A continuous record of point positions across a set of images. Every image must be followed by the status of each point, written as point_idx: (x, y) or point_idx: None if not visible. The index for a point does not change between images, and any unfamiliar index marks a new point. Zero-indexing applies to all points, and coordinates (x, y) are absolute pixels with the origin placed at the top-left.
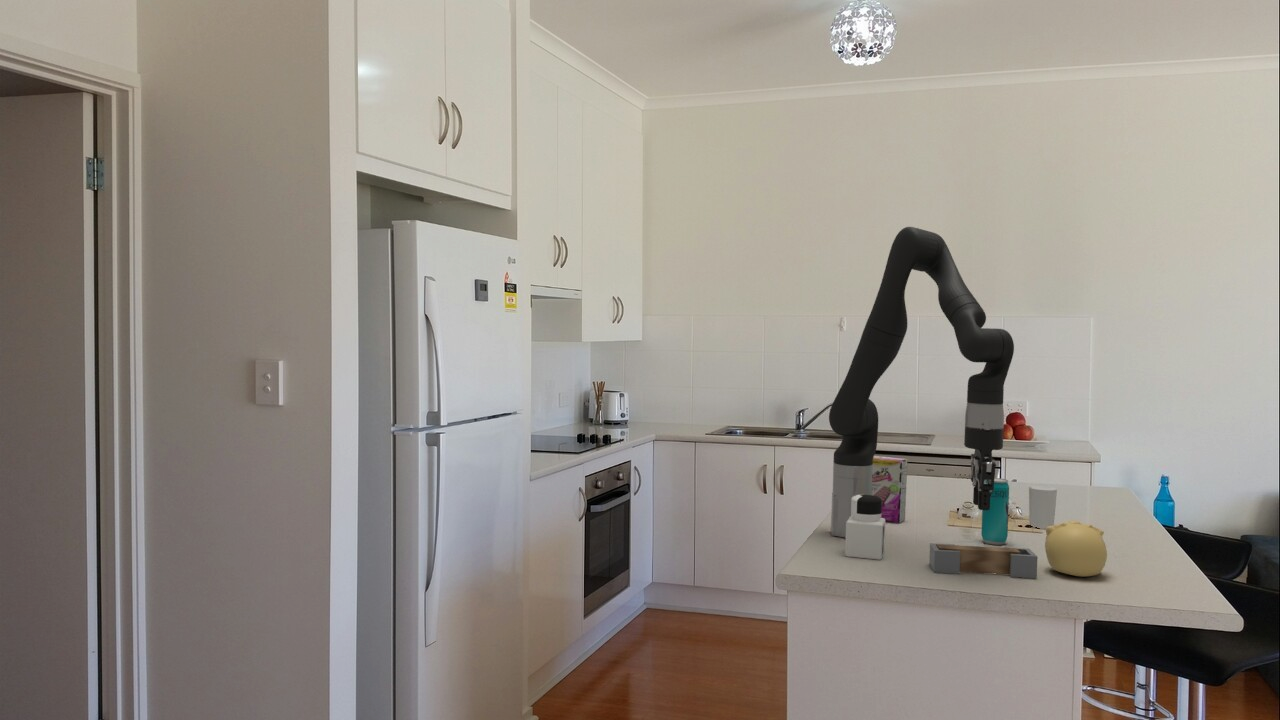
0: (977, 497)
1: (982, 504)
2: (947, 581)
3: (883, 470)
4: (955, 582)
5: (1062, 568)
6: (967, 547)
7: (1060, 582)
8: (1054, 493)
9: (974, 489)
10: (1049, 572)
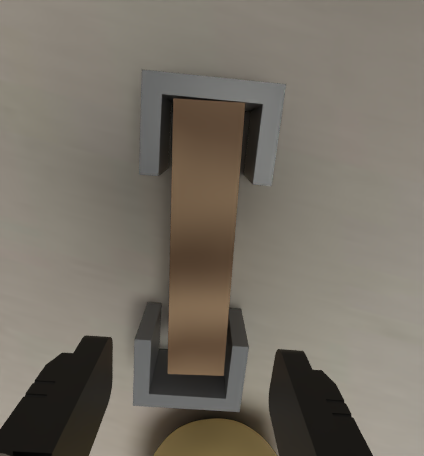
0: (288, 407)
1: (43, 377)
2: (49, 103)
3: None
4: (43, 127)
5: (170, 435)
6: (207, 219)
7: (122, 399)
8: None
9: (312, 449)
10: None
